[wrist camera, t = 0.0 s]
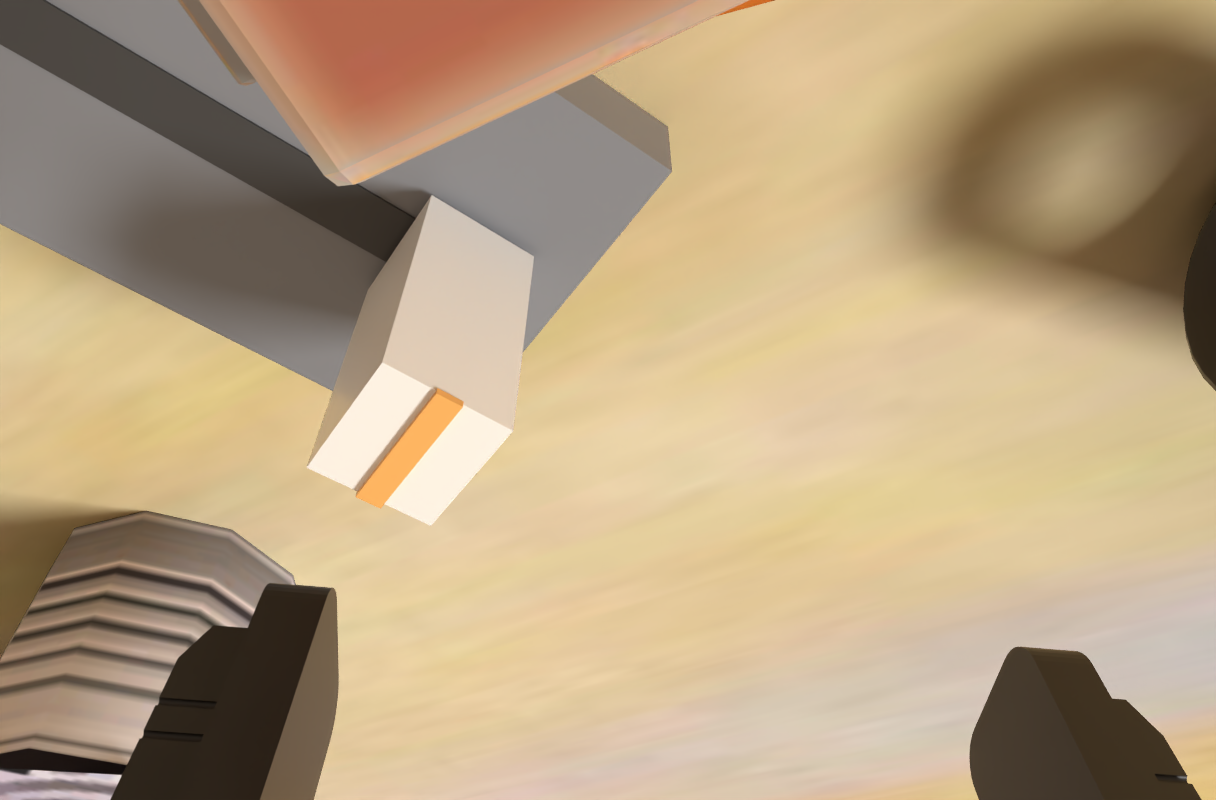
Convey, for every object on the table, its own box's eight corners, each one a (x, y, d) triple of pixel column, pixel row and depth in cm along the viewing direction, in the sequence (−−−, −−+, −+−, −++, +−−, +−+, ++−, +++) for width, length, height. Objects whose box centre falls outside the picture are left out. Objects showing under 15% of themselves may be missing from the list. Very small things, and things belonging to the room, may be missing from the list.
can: (162, 469, 41) (28, 736, 32) (362, 619, 47) (299, 881, 37) (-8, 579, 45) (-170, 842, 36) (195, 703, 51) (101, 958, 42)
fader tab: (432, 193, 29) (381, 364, 23) (535, 255, 31) (513, 433, 24) (366, 291, 32) (304, 472, 25) (465, 345, 33) (429, 530, 26)
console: (-339, -573, 22) (-457, -591, 19) (667, 126, 32) (672, 173, 29) (-387, -50, 28) (-480, -15, 26) (455, 393, 38) (444, 449, 36)
